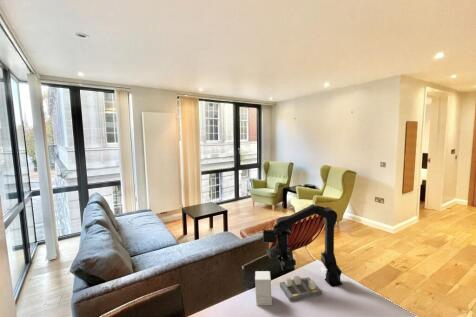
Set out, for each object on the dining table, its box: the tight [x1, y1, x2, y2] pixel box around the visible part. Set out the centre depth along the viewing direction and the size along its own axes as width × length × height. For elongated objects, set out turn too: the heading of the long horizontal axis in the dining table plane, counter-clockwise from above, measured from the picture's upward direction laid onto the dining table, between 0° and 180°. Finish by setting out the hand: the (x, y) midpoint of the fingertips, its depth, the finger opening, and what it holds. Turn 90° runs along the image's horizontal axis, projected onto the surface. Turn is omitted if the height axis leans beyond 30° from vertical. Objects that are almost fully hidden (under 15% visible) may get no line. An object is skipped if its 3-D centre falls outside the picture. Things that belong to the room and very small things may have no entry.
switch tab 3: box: [308, 279, 316, 290], centre depth 115 cm, size 2×2×3 cm
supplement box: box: [254, 270, 273, 306], centre depth 110 cm, size 7×7×13 cm
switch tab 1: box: [284, 276, 293, 287], centre depth 118 cm, size 2×2×3 cm
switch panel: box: [278, 276, 323, 302], centre depth 117 cm, size 17×12×2 cm
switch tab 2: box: [293, 275, 301, 285], centre depth 119 cm, size 2×2×3 cm
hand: (283, 270), depth 124 cm, fingers closed
